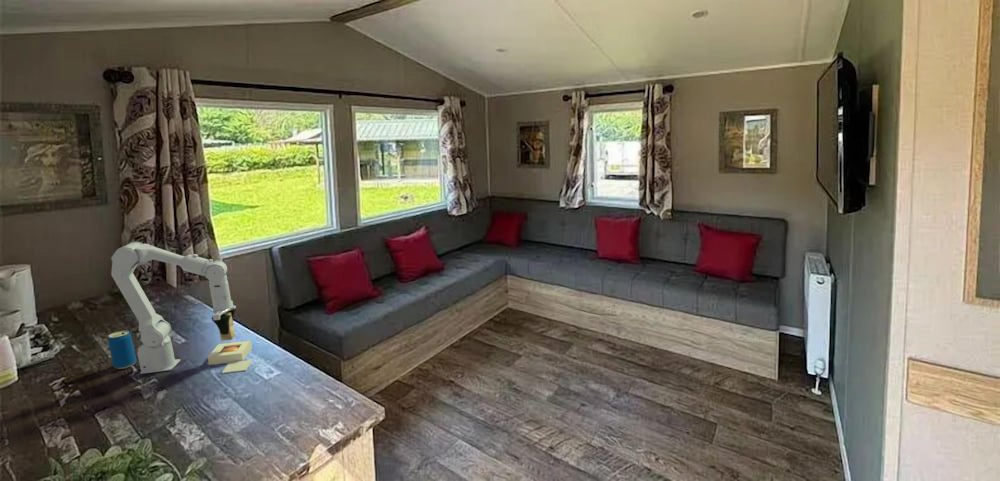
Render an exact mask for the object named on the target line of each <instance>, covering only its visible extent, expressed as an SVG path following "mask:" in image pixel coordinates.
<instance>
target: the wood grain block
mask: <svg viewBox="0 0 1000 481" xmlns="http://www.w3.org/2000/svg"><path fill="white" fill-rule="evenodd" d="M224 315H225V316H226V315H231V316H230V319H229V333H228V334H225V335H222V334H221V332H220V330H219V329H218V331H219V334H220V341H221V342H222V341H232V340H233V339H234V338H235V337H236V333H235V326H234V319H233V320H232V314H231V312H229V313H224Z"/></svg>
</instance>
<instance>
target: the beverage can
mask: <svg viewBox="0 0 1000 481" xmlns="http://www.w3.org/2000/svg"><path fill="white" fill-rule="evenodd" d="M107 342H108V343H107V344H108V348H109V353H110V356H111V361H112V364H113V365H112V366H113V367H114V369H117V370H123V369H128V368H130V367H133V366H134V365H135V364H136V363H137V361H138V360H137V356H136V350H135V347H134V342H133V338H132V334H131V333H130V332H129V330H120V331H115V332H113V333H110V334H109V335H108V338H107Z"/></svg>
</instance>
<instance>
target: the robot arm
mask: <svg viewBox="0 0 1000 481" xmlns="http://www.w3.org/2000/svg"><path fill="white" fill-rule="evenodd" d="M110 259H111V264H112V265H111V271H110V272H111V274H110V275H111V277H112V279H113V281H114V282H115V284H116V286H117V288H118V289H119V292H120V293H121V294H122V296H123V297H124V300H125V301H126V303H127V304H128V306H129V307H130V309H131V311H132V312H133V314H134V316H135V317H136V319H137V321H138V332H139V333H140V341H141V342H142V344H141V345H140V346H139V347H138V350H137V358H138V364H139V368H140V372H139V374H142V375H143V374H149V373H151V374H152V373H159V372H160V373H161V372H167V371H172V370H173V369H174V368H175V366H176V365H178V363H179V362H180V361H181V359H179V358H178V359H177V358H175V354H174V348H173V344H172V339H171V337H170V333H171V332H172V327H171V324H170V323H169V322H168V321H166V320H165V319H164V318H163V316H162V315H160V314H158V313H156V310H155V309H154V307H153V305H152V304H151V302H150V301H149V298H148V297H147V295H146V293H145V291H144V290H143V289H142V286H141V285H140V283H139V281H138V279H137V277H136V276H135V274H134V271H135V269H136V268H137V266H138V265H139V263H144V262H148V261H153V260H154V261H158V262H162V263H166V264H171V265H175V266H180V268H181V269H182V270H183V271H184V272H187V273H191V274H195V275H199V276H203V277H205V278H206V279H207V280H208V282H209V286H208V287H209V291H210V297H211V302H212V307H213V308H212V311H213V312H212V315H211V316H212V317H211V321H212V322H213V323H215V325H216V326H217V328H218V331H219V330H220V331H219V333H220V332H221V334H222V335H225V334H228V333H229V319H230V316H231V315H226V316H225V315H224V313H229V312H231V314H232V320H233V321H234V317H235V313H236V311H237V310H236V308H237V306H236V305H234V300H232V297H231V291H230V285H229V281H228V277H227V273H228V266H227V264H226V263H225V262H224V261H222V260H220V259H216V260H214V259H213V258H210V259H208V258H204V257H200V256H199V254H196V253H194V254H188V255H186V256H184V255H181V254H178V253H175V252H172V251H170V250H169V251H168V250H165V249H162V248H161V247H160V248H159V247H157V246H154V245H151V244H149V243H142V242H140V241H131V242H129V243H128V244H126V245H124V246H122V247H119V248H117V249H116V250H115V252H114V253H113V255H112V256H111V258H110Z"/></svg>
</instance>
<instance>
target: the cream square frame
mask: <svg viewBox="0 0 1000 481" xmlns="http://www.w3.org/2000/svg"><path fill="white" fill-rule="evenodd" d="M228 347H238V350H237V351H233V352H224V353H222V351H223V350H224V349H226V348H228ZM252 349H253V347H252V340H244V341H235V342H233V341H232V342H225V343H218V345H216V347H215V348H214V349H213V350H212V352H210V354H209V355H207V362H208V365H209V366H214V365H221V364H222V365H223V364H228V363H230V362H238V361H245V359H246V358H247V356H248V355H249V353H250V352H251V350H252Z"/></svg>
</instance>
